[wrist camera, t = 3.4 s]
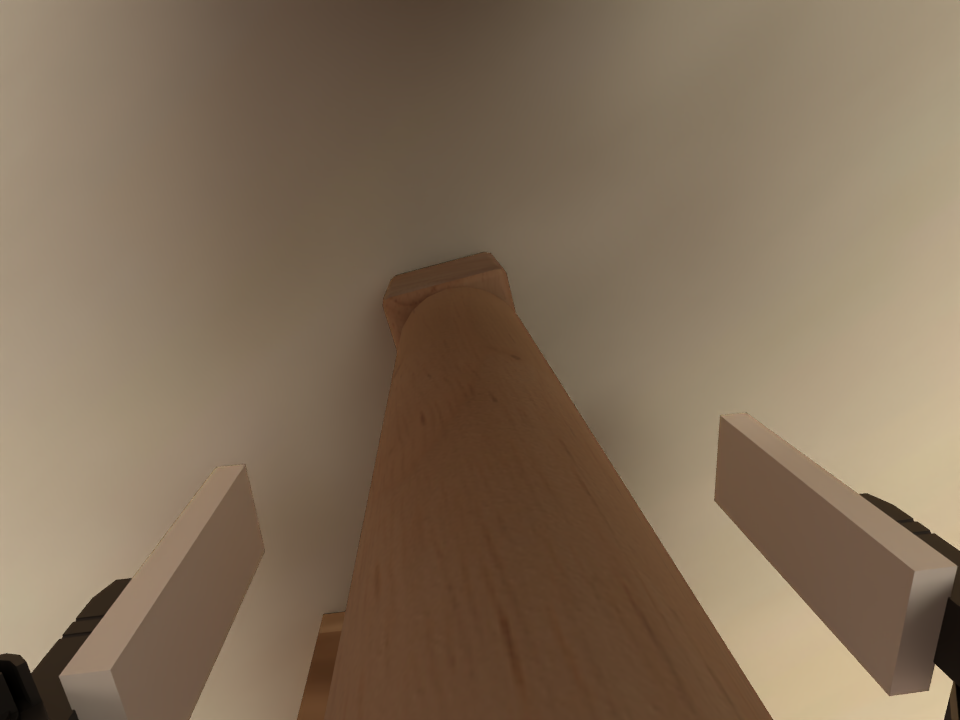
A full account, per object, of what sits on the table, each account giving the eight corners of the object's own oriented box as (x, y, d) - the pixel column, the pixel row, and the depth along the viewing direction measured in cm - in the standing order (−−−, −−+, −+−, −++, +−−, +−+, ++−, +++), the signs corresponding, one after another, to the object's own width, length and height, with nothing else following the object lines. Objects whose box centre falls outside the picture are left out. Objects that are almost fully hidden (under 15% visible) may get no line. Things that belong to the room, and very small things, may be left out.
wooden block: (467, 537, 22) (588, 1742, 5) (387, 276, 19) (-74, 1280, 2) (557, 513, 22) (982, 1639, 5) (493, 248, 19) (1135, 957, 2)
